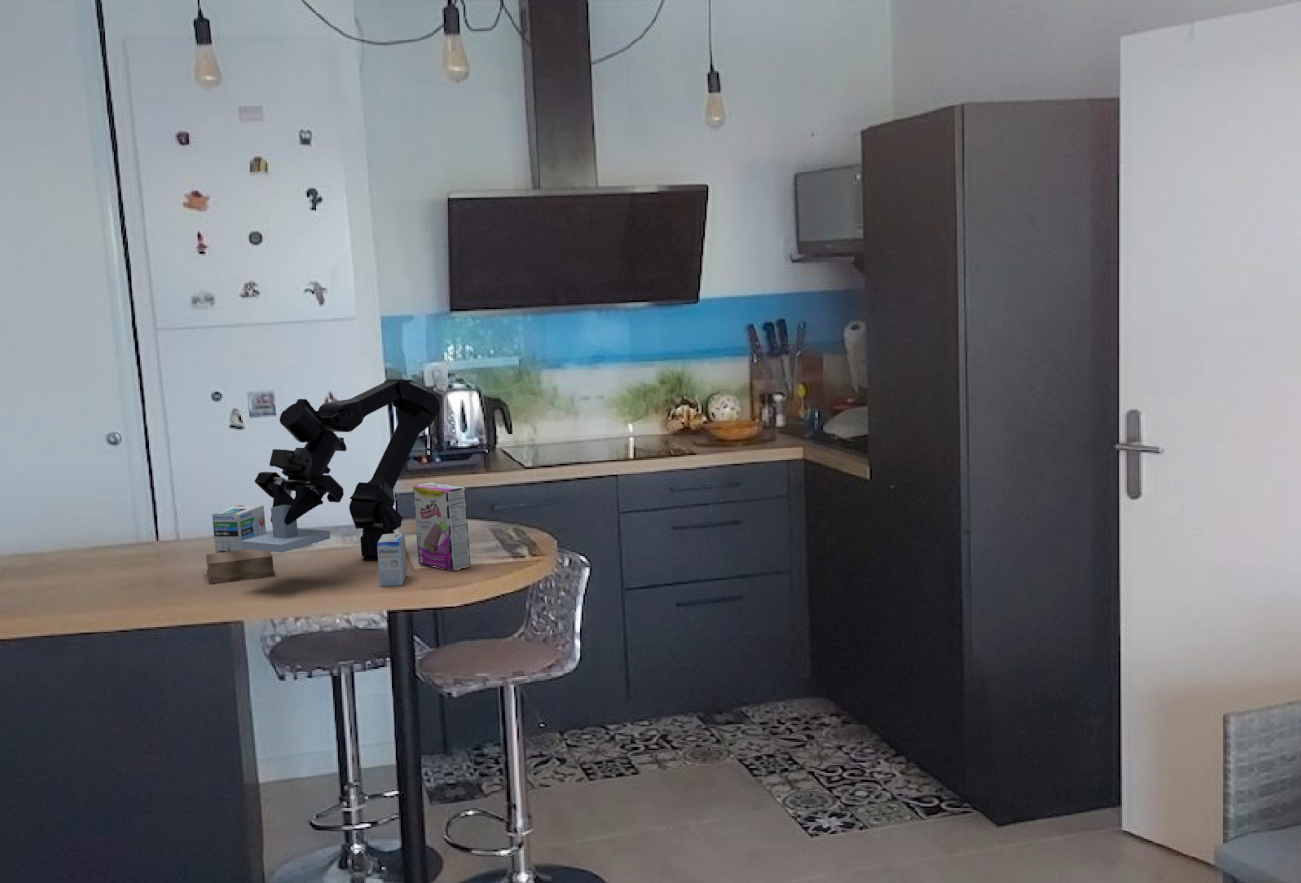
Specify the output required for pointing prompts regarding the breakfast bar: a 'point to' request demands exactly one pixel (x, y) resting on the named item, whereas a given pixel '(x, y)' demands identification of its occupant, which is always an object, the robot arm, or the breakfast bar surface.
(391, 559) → the medicine box
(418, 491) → the candy bar box
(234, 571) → the walnut box
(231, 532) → the light bulb box
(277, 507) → the lid
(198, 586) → the breakfast bar surface
